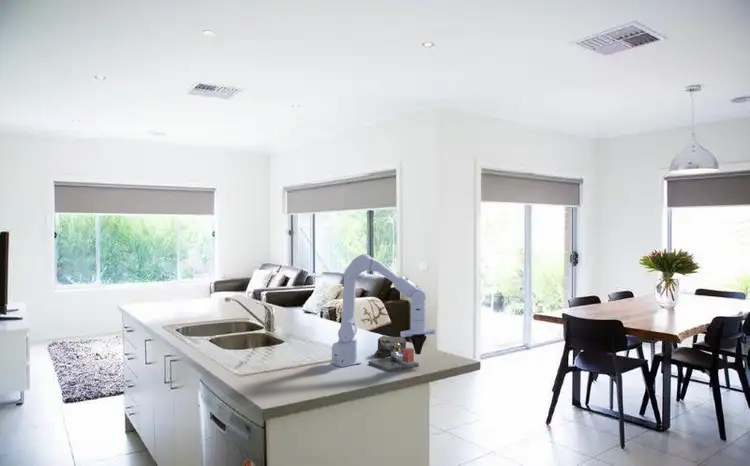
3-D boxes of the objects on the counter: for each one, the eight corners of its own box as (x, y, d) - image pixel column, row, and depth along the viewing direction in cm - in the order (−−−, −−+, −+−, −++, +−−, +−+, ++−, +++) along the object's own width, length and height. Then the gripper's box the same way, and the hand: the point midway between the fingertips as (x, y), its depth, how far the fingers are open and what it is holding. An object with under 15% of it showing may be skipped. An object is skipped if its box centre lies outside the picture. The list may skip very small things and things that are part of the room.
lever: (389, 358, 209) (389, 344, 209) (395, 357, 210) (395, 343, 210) (407, 364, 199) (407, 350, 199) (413, 363, 201) (413, 349, 201)
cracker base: (390, 371, 194) (390, 353, 194) (368, 364, 206) (368, 346, 206) (419, 365, 203) (419, 348, 203) (396, 358, 214) (396, 341, 214)
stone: (390, 354, 212) (379, 332, 215) (375, 364, 216) (365, 342, 219) (413, 348, 227) (403, 328, 230) (399, 357, 231) (389, 337, 234)
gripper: (428, 316, 211) (428, 349, 211) (396, 319, 205) (396, 353, 205) (437, 319, 205) (437, 353, 205) (405, 321, 199) (405, 357, 199)
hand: (417, 353), depth 204 cm, fingers closed
